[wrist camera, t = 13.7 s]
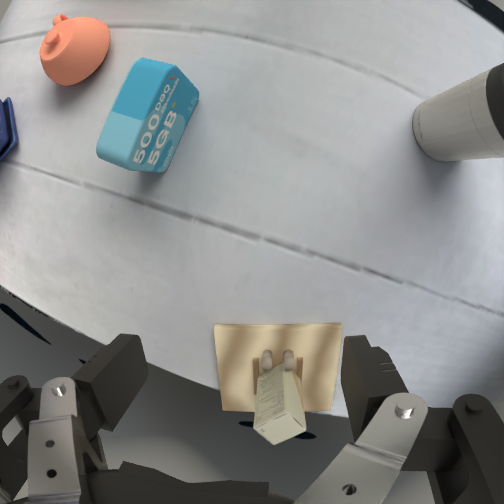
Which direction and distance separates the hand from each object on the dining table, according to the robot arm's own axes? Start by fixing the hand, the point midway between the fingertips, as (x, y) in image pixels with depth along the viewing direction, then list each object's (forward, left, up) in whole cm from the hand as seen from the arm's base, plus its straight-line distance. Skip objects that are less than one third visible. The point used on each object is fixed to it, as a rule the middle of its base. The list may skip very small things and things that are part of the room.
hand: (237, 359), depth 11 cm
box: (-2, +21, -27) cm, 34 cm away
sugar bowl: (+29, -32, -29) cm, 52 cm away
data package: (+13, -15, -29) cm, 35 cm away
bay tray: (-1, +21, -29) cm, 36 cm away
